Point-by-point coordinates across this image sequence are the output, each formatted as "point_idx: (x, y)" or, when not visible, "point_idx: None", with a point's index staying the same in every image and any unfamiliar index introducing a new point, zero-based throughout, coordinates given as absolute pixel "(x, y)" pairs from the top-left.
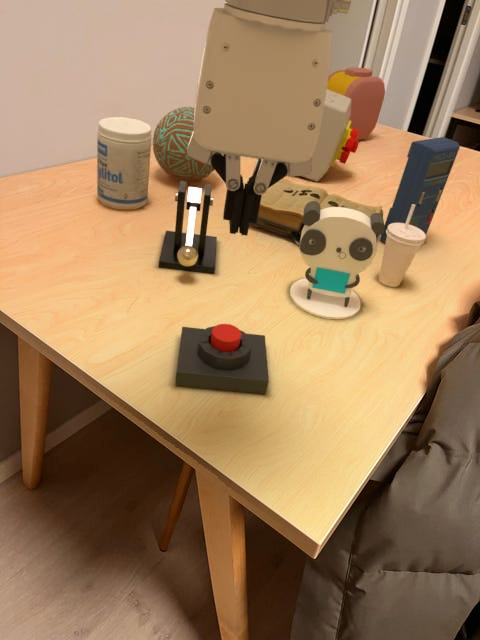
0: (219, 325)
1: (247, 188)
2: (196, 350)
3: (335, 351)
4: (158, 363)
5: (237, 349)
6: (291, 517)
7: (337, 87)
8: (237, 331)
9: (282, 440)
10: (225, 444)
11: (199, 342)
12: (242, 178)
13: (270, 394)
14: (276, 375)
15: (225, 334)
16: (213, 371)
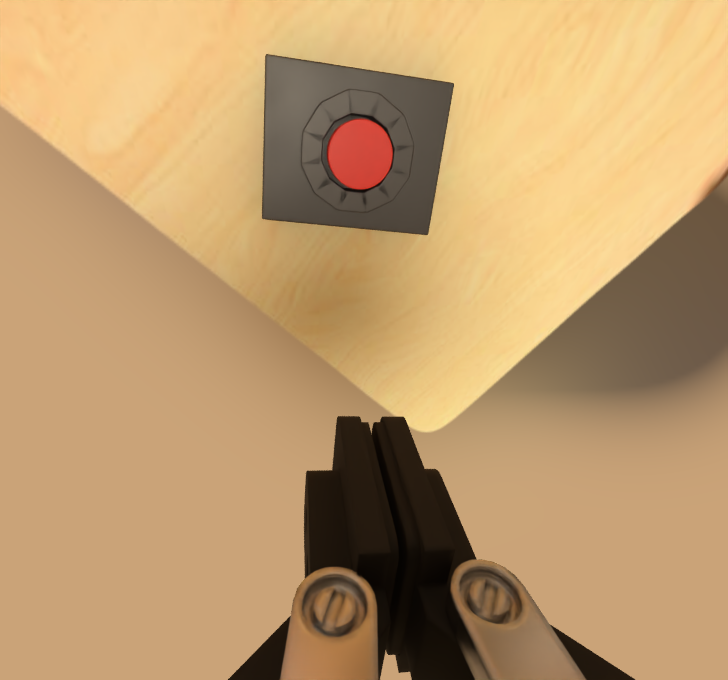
0: (346, 127)
1: (407, 605)
2: (299, 150)
3: (595, 92)
4: (227, 149)
5: None
6: None
7: None
8: (385, 150)
9: (423, 321)
10: (342, 331)
11: (302, 162)
12: (386, 637)
13: None
14: (451, 177)
15: (357, 163)
16: (330, 214)
